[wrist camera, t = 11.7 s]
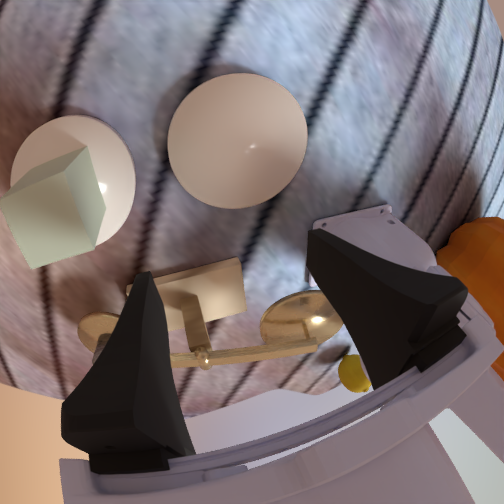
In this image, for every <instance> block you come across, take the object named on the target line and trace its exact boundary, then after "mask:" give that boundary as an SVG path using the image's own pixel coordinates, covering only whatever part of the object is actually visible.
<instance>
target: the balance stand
mask: <svg viewBox="0 0 504 504" xmlns="http://www.w3.org/2000/svg"><path fill="white" fill-rule="evenodd" d="M153 280H154V282H155V285H156V287H157V289H158V292H159V294H160V297H161V299H162V301H163V304H164V309H165V314H166V319H167V326H168V331H172V330H176V329H180V328H184V327H185V331H186V336H187V340H188V345H189V349H190V351H191V352H195V350H196V349H197V348H199V347H204V348H206V349H207V351H213V350H212V347H211V343H210V340H209V336H208V332H207V329H206V325H205V322H208V321H211V320H215V319H219V318H223V317H226V316H230V315H233V314H237V313H240V312H244V311H247V306H246V299H245V291H244V284H243V276H242V268H241V263H240V261H239V259H238V257H235V258H232V259H228V260H224V261H220V262H216V263H212V264H208V265H204V266H200V267H197V268H193V269H189V270H185V271H181V272H177V273H173V274H169V275H165V276H161V277H158V278H154V279H153ZM132 285H133V284H130V285H127V289H126V294H127V296H128V295H129V293H130V290H131V287H132Z"/></svg>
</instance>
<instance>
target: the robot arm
mask: <svg viewBox="0 0 504 504" xmlns="http://www.w3.org/2000/svg"><path fill="white" fill-rule="evenodd" d="M391 211H392V206H391V205H389V204H386V205H381V206H377V207H372V208H368V209H363V210H359V211H354V212H350V213H345V214H341V215H337V216H332V217H328V218H324V219H319V220H316V221H315V222H314V223H313V230H310V231H308V246H307V263H306V266H307V268H308V269H309V271H310V273H309V285H310V286H311V287H314V286H317V285H318V287H319V288H320V290H321V291H322V293H323V294H324V295H325V297H326V298H327V299H328V301H329V302H330V304H331V305H332V306H333V308H334V309H335V311H336V312H337V313H338V315H339V316H340V318H341V319H342V321H343V323H344V324H345V326H346V328H347V330H348V332H349V334H350V336H351V338H352V340H353V342H354V344H355V346H356V348H357V350H358V352H359V354H360V362H361V366H362V369H363V371H364V373H365V375H366V377H367V378H368V380H369V381H370V382H371V384H372V387H373V389H374V391H372V392H370V393H368V394H366V395H364V396H363V397H361V398H359V399H357V400H355V401H353V402H351V403H349V404H346V405H344V406H342V407H340V408H338V409H336V410H334V411H332V412H329V413H327V414H325V415H322V416H320V417H318V418H315V419H313V420H310V421H308V422H305V423H303V424H300V425H298V426H295V427H292V428H290V429H287V430H284V431H281V432H278V433H275V434H272V435H269V436H266V437H263V438H260V439H257V440H253V441H250V442H246V443H243V444H239V445H236V446H232V447H228V448H224V449H220V450H215V451H211V452H206V453H202V454H196V452H195V450H194V447H193V444H192V441H191V439H190V436H189V433H188V430H187V427H186V424H185V421H184V417H183V414H182V411H181V407H180V403H179V400H178V396H177V392H176V388H175V384H174V379H173V375H172V368H171V359H170V349H169V338H168V326H167V319H166V314H165V309H164V304H163V301H162V299H161V297H160V294H159V292H158V289H157V287H156V285H155V282H154V280H153V277H152V274H151V272H150V271H148V272H144V273H140V274H137V275H136V277H135V279H134V282H133V285H132V287H131V290H130V293H129V295H128V298H127V300H126V303H125V305H124V308H123V310H122V312H121V315H120V317H119V319H118V321H117V323H116V326H115V328H114V330H113V332H112V334H111V336H110V338H109V340H108V341H107V343H106V345H105V347H104V349H103V350H102V352H101V354H100V355H99V357H98V358H97V360H96V361H95V363H94V364H93V366H92V367H91V369H90V370H89V372H88V373H87V374H86V376H85V377H84V378H83V380H82V381H81V382H80V383H79V385H78V386H77V387H76V388H75V389H74V391H73V392H72V393H71V394H70V395H69V396H68V397H67V399H66V400H65V401H64V402H63V403H62V408H61V436H62V438H63V439H64V440H65V441H66V442H67V443H68V444H70V445H72V446H74V447H76V448H78V449H80V450H82V451H84V452H86V453H88V454H89V461H88V460H83V459H62V458H61V459H59V465H60V476H61V485H62V492H63V499H64V504H475V502H474V501H473V499H472V497H471V495H470V493H469V491H468V489H467V487H466V486H465V484H464V482H463V480H462V478H461V477H460V475H459V473H458V471H457V470H456V468H455V466H454V464H453V463H452V461H451V459H450V458H449V456H448V454H447V453H446V451H445V449H444V448H443V446H442V444H441V443H440V441H439V439H438V438H437V436H436V434H435V433H434V431H433V430H432V428H431V427H430V425H429V423H428V422H429V421H431V420H432V419H433V418H434V417H436V416H437V415H438V414H439V413H441V412H442V411H443V410H444V409H446V408H450V409H451V410H452V411H453V412H454V413H455V414H456V415H457V416H458V417H459V418H460V419H461V420H462V421H463V422H464V423H465V424H466V425H467V426H468V427H469V428H470V429H471V430H472V431H473V432H474V433H475V434H476V435H477V436H478V437H479V438H480V439H481V440H482V441H483V442H484V443H485V444H486V445H487V446H488V447H489V448H490V450H491V451H492V452H493V453H494V454H495V455H496V456H497V457H498V458H499V459H500V460H501V461H502V462H503V463H504V381H503V380H502V379H501V377H500V376H499V375H498V374H497V373H496V372H495V371H494V369H493V368H492V367H491V366H490V365H491V364H492V363H493V362H494V361H495V360H496V359H497V358H498V357H499V355H500V354H501V353H502V352H503V351H504V346H503V345H502V343H501V342H500V341H499V340H498V338H497V337H496V331H495V329H494V323H493V321H492V320H491V318H490V317H489V316H488V314H487V313H486V312H485V311H484V310H483V308H482V306H481V305H480V304H479V303H478V302H477V301H476V299H475V298H474V297H473V296H472V295H471V294H470V293H469V292H468V288H467V287H466V286H465V285H464V284H463V283H462V282H461V281H460V280H459V279H458V278H457V277H453V276H451V275H450V274H449V273H448V272H447V271H446V270H445V269H443V268H442V267H441V266H439V265H437V262H436V258H435V256H434V253H433V251H432V250H431V248H430V247H429V245H428V244H427V243H426V242H425V241H424V240H423V239H421V238H420V237H419V236H418V235H417V234H415V233H414V232H413V231H412V230H411V229H409V228H408V227H407V226H406V225H404V224H403V223H402V222H401V221H399V220H398V219H397V218H395V217H394V216H393V215H392V214H391ZM323 223H324V225H322V224H323ZM383 405H384V406H383ZM380 407H381V409H380V411H379V412H377V413H375V414H373V415H372V416H370V417H368V418H366V419H364V420H362V421H360V422H359V423H357V424H355V425H353V426H351V427H349V428H347V429H345V430H342V431H341V432H338V433H336V434H334V435H332V436H330V437H327V438H326V439H323V440H321V441H320V442H317V443H315V444H313V445H311V446H309V447H306V448H304V449H302V450H300V451H297V452H295V453H292V454H290V455H287V456H285V457H282V458H280V459H277V460H275V461H272V462H269V463H267V464H264V465H261V466H258V467H255V468H252V469H249V470H248V469H247V466H245V465H241V464H245V463H248V462H252V461H255V460H259V459H262V458H265V457H268V456H272V455H275V454H277V453H281V452H283V451H286V450H289V449H292V448H295V447H297V446H300V445H302V444H305V443H307V442H310V441H312V440H315V439H317V438H320V437H322V436H324V435H327V434H329V433H331V432H333V431H335V430H337V429H340V428H342V427H343V426H346V425H348V424H350V423H352V422H354V421H356V420H358V419H360V418H362V417H364V416H365V415H367V414H369V413H371V412H373V411H374V410H376V409H378V408H380ZM237 465H241V466H237ZM233 466H234V467H233Z"/></svg>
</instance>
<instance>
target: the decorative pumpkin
mask: <svg viewBox="0 0 504 504" xmlns="http://www.w3.org/2000/svg"><path fill="white" fill-rule="evenodd" d="M436 262H437V265H439V266H441V267H442V268H443V269H445V270H446V271H447V272H448V273H449V274H450V275H451V276H453V277H457V278H458V279H459V280H460V281H461V282H462V283H463V284H464V285H465V286H466V287H467V288H468V292H469V293H470V294H471V295H472V296H473V297H474V298H475V299H476V301H477V302H478V303H479V304H480V305H481V306H482V308H483V310H484V311H485V312H486V313H487V314H488V316H489V317H490V318H491V320H492V321H493V323H494V329H495V331H496V337H497V338H498V340H499V341H500V342H501V343H502V345H503V346H504V220H503V219H501V218H499V217H482V218H477V219H475V220H474V221H472V222H470V223H465V224H463V225H462V226H460V227H458V228H457V229H456V230H455V231H454V232H452V233H451V236H450V239H449V242H448V245H447V246H445V247H443V248H442V249H440V250H438V251H437V256H436ZM490 366H491V367H492V368H493V369H494V371H495V372H496V373H497V374H498V375H499V376H500V377H501V379H502V380H503V381H504V351H503V352H502V353H501V354H500V355H499V357H498V358H497V359H496V360H495V361H494V362H493V363H492V364H491V365H490Z"/></svg>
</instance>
